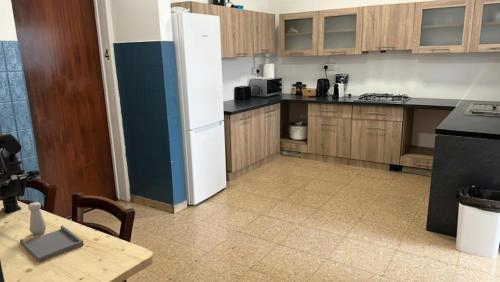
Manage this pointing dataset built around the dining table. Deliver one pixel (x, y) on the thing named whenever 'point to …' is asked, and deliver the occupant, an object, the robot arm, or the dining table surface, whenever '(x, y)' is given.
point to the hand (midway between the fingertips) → (22, 196)
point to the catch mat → (52, 244)
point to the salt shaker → (36, 219)
